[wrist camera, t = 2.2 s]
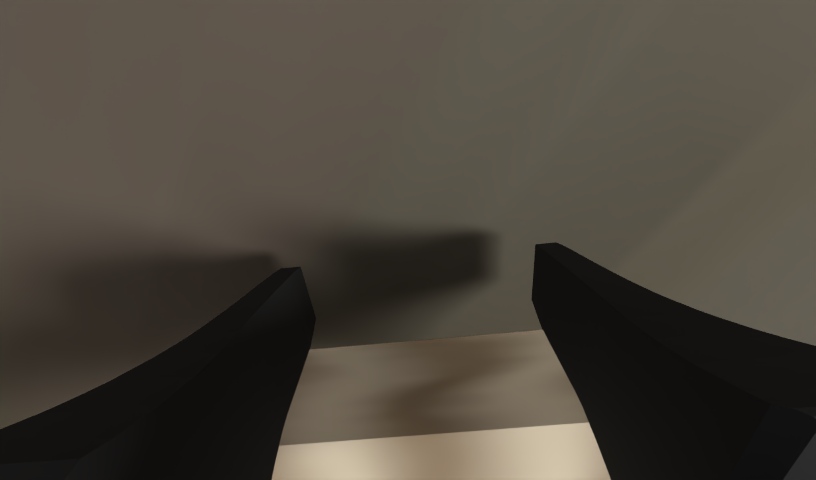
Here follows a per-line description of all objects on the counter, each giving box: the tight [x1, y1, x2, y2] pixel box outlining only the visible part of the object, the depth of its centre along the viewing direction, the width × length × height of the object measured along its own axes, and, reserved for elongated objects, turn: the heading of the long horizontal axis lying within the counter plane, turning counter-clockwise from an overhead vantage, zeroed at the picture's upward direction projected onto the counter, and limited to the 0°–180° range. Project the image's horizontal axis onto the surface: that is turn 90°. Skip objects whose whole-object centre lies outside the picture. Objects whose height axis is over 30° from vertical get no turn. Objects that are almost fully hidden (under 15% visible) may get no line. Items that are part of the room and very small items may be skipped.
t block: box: [272, 330, 611, 480], centre depth 15 cm, size 12×12×4 cm
